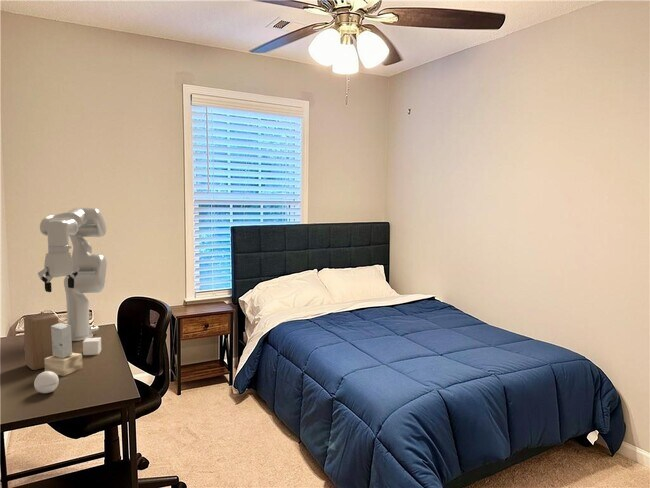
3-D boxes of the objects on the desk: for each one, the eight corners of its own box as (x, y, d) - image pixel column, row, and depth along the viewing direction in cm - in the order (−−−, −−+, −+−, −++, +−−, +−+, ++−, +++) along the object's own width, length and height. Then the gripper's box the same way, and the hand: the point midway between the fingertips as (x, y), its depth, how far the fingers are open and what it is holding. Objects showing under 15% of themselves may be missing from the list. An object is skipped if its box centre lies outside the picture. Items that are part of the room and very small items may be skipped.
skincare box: (52, 355, 177) (49, 326, 174) (62, 350, 181) (60, 322, 178) (63, 358, 174) (60, 329, 172) (73, 354, 178) (71, 325, 176)
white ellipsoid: (32, 398, 152) (31, 376, 151) (36, 390, 158) (35, 369, 158) (66, 394, 156) (66, 373, 155) (69, 386, 162) (68, 366, 162)
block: (24, 365, 183) (23, 315, 182) (52, 359, 191) (51, 312, 189) (31, 371, 176) (30, 320, 175) (60, 365, 184) (59, 316, 182)
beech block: (64, 366, 183) (63, 351, 183) (82, 368, 181) (82, 353, 181) (44, 373, 175) (44, 358, 174) (63, 376, 172) (63, 360, 172)
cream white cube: (98, 354, 198) (98, 341, 198) (83, 355, 197) (82, 341, 196) (101, 350, 204) (101, 337, 204) (86, 351, 203) (86, 338, 202)
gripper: (72, 247, 201) (74, 285, 203) (32, 250, 185) (33, 292, 187) (83, 248, 197) (84, 287, 199) (42, 252, 182) (44, 294, 184)
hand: (60, 289), depth 193 cm, fingers open, 9 cm apart
